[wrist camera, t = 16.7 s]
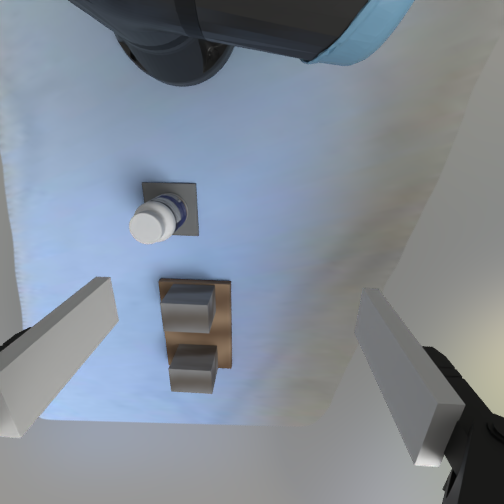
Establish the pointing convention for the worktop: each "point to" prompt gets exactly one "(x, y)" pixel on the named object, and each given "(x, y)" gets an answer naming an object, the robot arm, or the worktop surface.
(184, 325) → the board with two blocks
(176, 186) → the pad
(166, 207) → the pill bottle
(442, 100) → the worktop surface
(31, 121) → the worktop surface
